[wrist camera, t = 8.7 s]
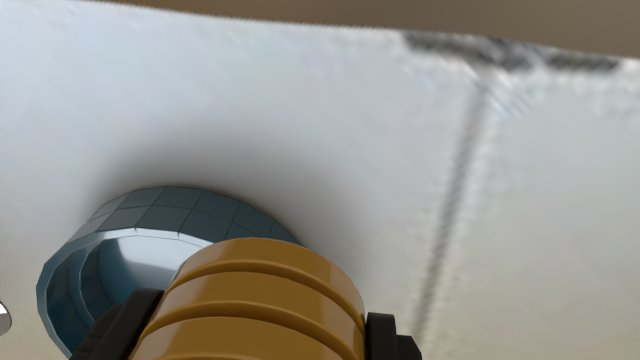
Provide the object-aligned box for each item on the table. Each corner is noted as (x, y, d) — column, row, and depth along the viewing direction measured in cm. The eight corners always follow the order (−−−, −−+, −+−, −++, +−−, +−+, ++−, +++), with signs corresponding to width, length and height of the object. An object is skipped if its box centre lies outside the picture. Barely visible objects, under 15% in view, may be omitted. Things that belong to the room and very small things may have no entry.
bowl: (330, 197, 23) (325, 246, 19) (314, 370, 32) (308, 428, 28) (51, 169, 24) (-9, 212, 20) (111, 348, 32) (78, 401, 28)
